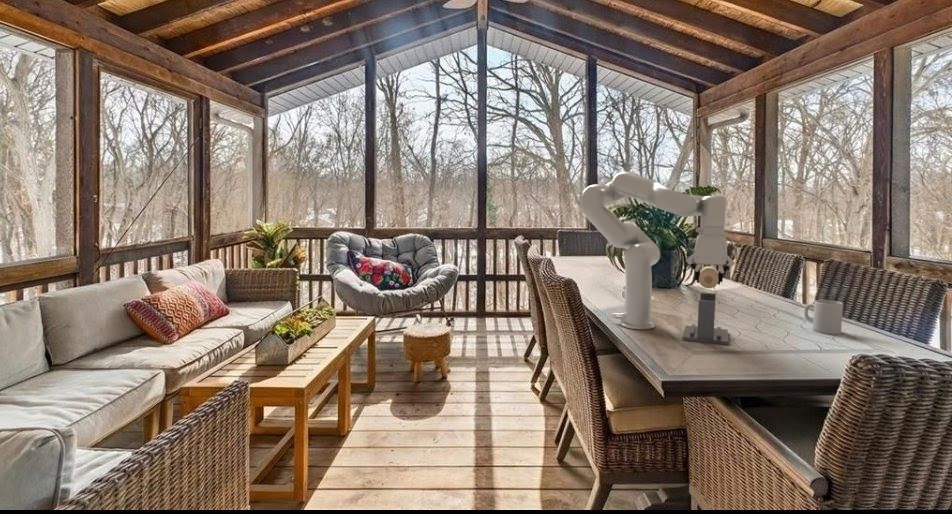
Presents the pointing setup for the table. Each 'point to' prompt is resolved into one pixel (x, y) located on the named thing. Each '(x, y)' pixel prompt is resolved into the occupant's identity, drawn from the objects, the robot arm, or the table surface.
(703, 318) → the roll holder
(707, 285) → the paper roll
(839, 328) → the mug
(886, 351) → the table surface
